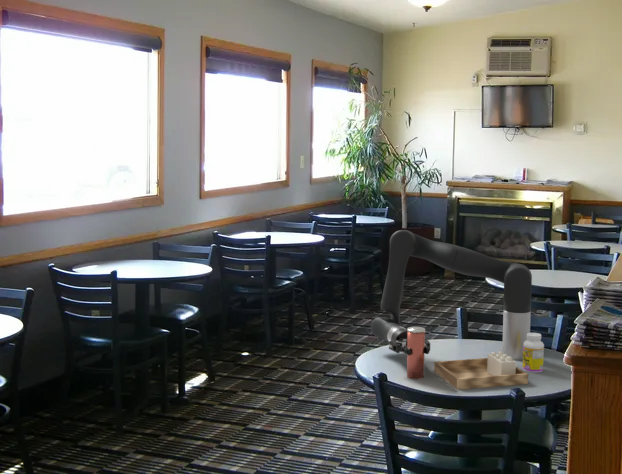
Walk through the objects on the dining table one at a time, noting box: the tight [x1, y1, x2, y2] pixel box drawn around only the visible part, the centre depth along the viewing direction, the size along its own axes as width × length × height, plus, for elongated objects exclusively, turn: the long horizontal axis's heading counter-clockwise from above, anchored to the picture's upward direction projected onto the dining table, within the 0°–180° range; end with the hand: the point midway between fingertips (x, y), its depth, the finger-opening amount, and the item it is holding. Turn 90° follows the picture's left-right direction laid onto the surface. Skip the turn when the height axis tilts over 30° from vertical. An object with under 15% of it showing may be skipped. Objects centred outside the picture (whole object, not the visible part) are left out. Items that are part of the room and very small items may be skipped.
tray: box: [433, 357, 529, 392], centre depth 261 cm, size 24×20×4 cm
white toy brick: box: [487, 350, 517, 376], centre depth 262 cm, size 5×10×7 cm, turn 13°
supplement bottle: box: [522, 332, 545, 373], centre depth 269 cm, size 7×7×13 cm
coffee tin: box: [406, 326, 426, 380], centre depth 264 cm, size 6×6×16 cm
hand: (418, 351), depth 261 cm, fingers closed on coffee tin, 5 cm apart
